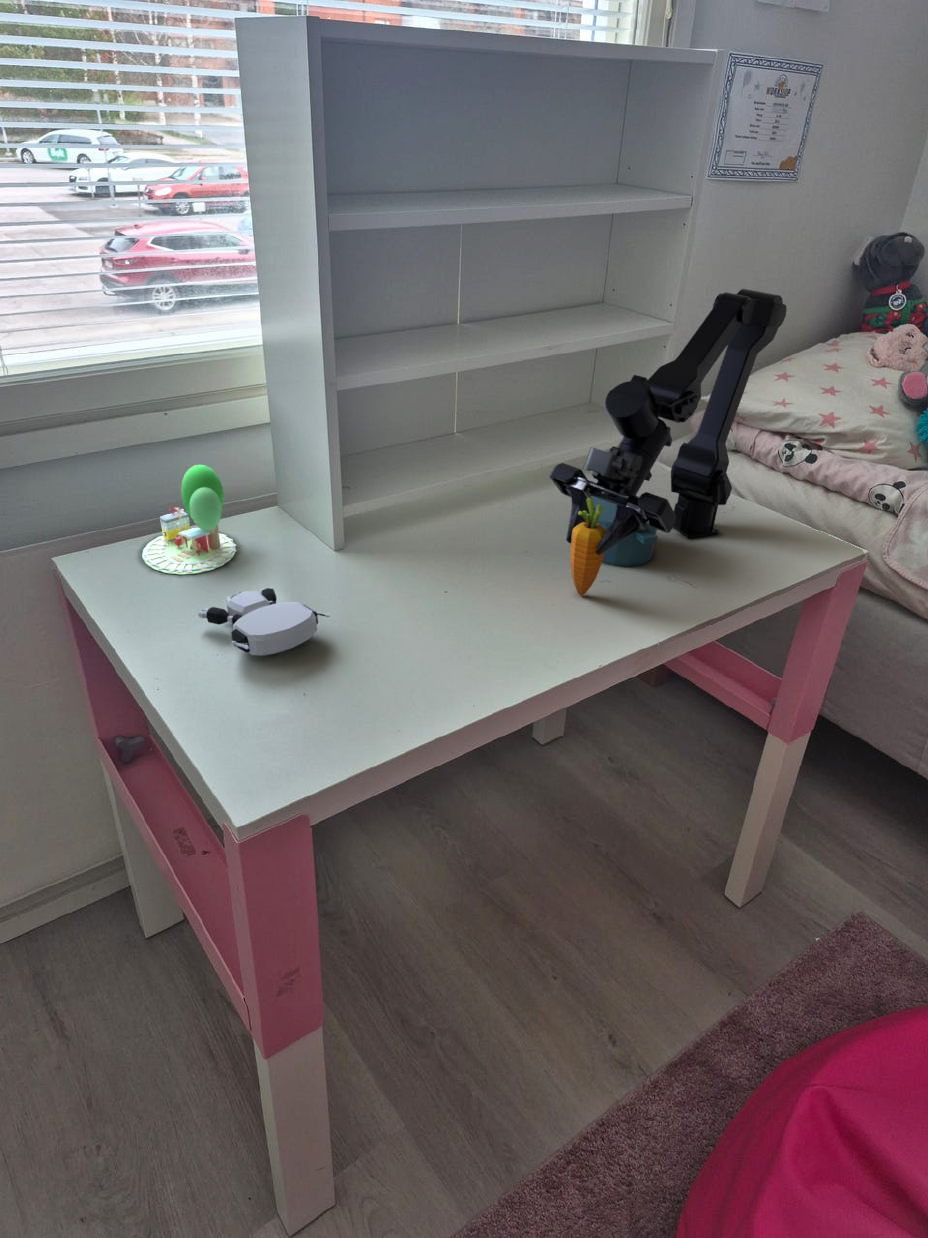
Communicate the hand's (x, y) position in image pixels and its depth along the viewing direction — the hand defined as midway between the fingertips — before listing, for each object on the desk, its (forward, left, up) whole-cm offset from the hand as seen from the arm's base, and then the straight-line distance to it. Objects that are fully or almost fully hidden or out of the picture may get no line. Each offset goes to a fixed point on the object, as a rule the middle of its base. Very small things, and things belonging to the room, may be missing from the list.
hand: (582, 547), depth 122 cm
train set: (+51, -31, -9) cm, 60 cm away
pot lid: (-14, -12, -1) cm, 19 cm away
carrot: (-1, -1, -9) cm, 9 cm away
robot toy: (+45, -4, -9) cm, 46 cm away
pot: (-14, -12, -8) cm, 20 cm away
